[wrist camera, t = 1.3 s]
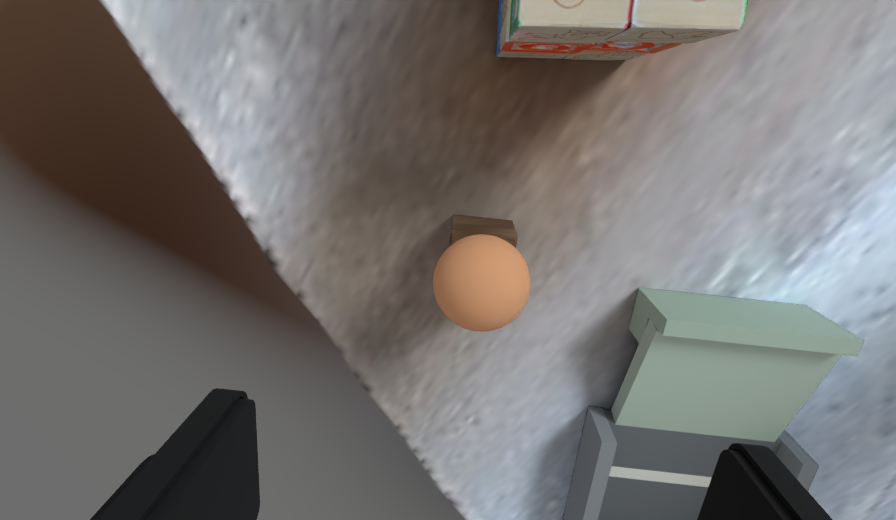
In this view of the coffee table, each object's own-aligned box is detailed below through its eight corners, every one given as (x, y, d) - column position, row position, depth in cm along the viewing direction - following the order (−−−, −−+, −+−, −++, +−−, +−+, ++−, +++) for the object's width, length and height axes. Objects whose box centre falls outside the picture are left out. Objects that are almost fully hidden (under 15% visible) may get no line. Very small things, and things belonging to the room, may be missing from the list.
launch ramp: (806, 305, 24) (864, 340, 21) (760, 426, 27) (805, 476, 23) (638, 287, 25) (667, 319, 21) (608, 409, 27) (629, 457, 23)
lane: (782, 427, 27) (833, 480, 23) (728, 563, 30) (764, 629, 27) (588, 405, 27) (607, 455, 23) (557, 544, 31) (569, 606, 27)
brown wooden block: (512, 220, 24) (518, 240, 20) (504, 275, 25) (509, 303, 21) (453, 214, 24) (450, 233, 20) (448, 269, 25) (444, 296, 21)
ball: (531, 228, 20) (544, 257, 17) (518, 310, 22) (527, 354, 18) (440, 219, 21) (433, 245, 17) (433, 301, 22) (425, 344, 18)
